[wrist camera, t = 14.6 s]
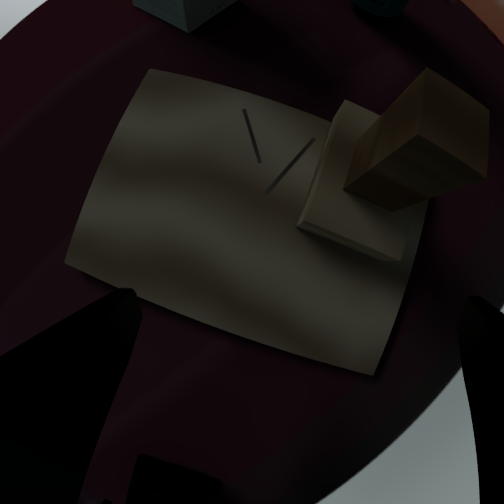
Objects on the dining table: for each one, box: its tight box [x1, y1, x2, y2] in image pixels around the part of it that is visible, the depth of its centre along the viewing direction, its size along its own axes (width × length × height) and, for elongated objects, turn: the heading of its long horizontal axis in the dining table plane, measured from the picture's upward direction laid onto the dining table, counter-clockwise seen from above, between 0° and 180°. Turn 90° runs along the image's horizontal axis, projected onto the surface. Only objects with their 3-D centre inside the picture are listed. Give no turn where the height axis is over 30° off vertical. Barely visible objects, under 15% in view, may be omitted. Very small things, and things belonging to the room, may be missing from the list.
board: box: [64, 69, 429, 376], centre depth 20 cm, size 15×22×2 cm
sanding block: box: [296, 67, 489, 262], centre depth 14 cm, size 8×6×11 cm
